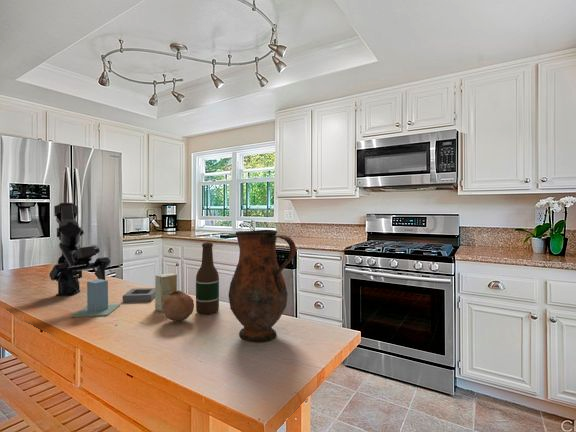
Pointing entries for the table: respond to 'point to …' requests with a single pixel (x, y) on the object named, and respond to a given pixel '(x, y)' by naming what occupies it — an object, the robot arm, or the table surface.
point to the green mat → (86, 313)
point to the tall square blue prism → (97, 295)
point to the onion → (178, 306)
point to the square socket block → (139, 295)
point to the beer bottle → (207, 284)
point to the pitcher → (259, 284)
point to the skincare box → (164, 288)
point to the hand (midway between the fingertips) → (92, 286)
